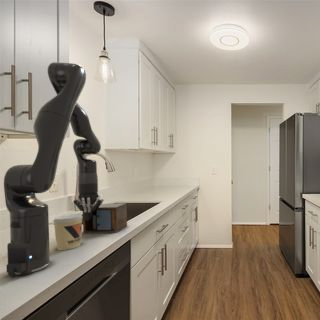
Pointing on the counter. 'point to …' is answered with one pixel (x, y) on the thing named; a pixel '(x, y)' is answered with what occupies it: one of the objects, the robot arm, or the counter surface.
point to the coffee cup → (68, 231)
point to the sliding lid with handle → (102, 220)
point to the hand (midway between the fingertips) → (89, 220)
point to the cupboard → (116, 218)
